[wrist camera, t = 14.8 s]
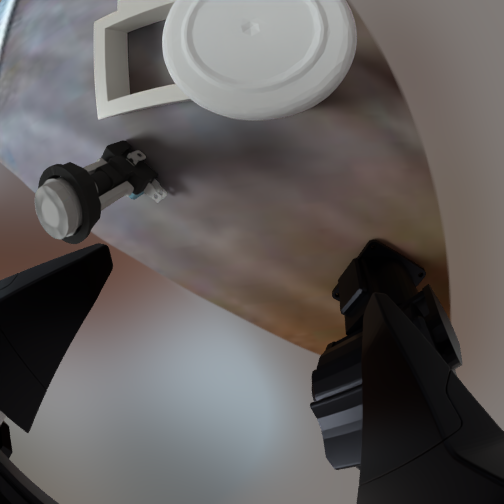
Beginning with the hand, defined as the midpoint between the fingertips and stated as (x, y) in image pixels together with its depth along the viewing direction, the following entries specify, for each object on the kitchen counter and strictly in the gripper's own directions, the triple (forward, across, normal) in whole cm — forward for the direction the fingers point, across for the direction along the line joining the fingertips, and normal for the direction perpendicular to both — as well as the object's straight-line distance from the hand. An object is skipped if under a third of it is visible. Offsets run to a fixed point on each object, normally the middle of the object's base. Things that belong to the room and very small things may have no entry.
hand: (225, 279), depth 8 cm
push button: (+13, +12, +1) cm, 18 cm away
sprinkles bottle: (+13, 0, -7) cm, 15 cm away
